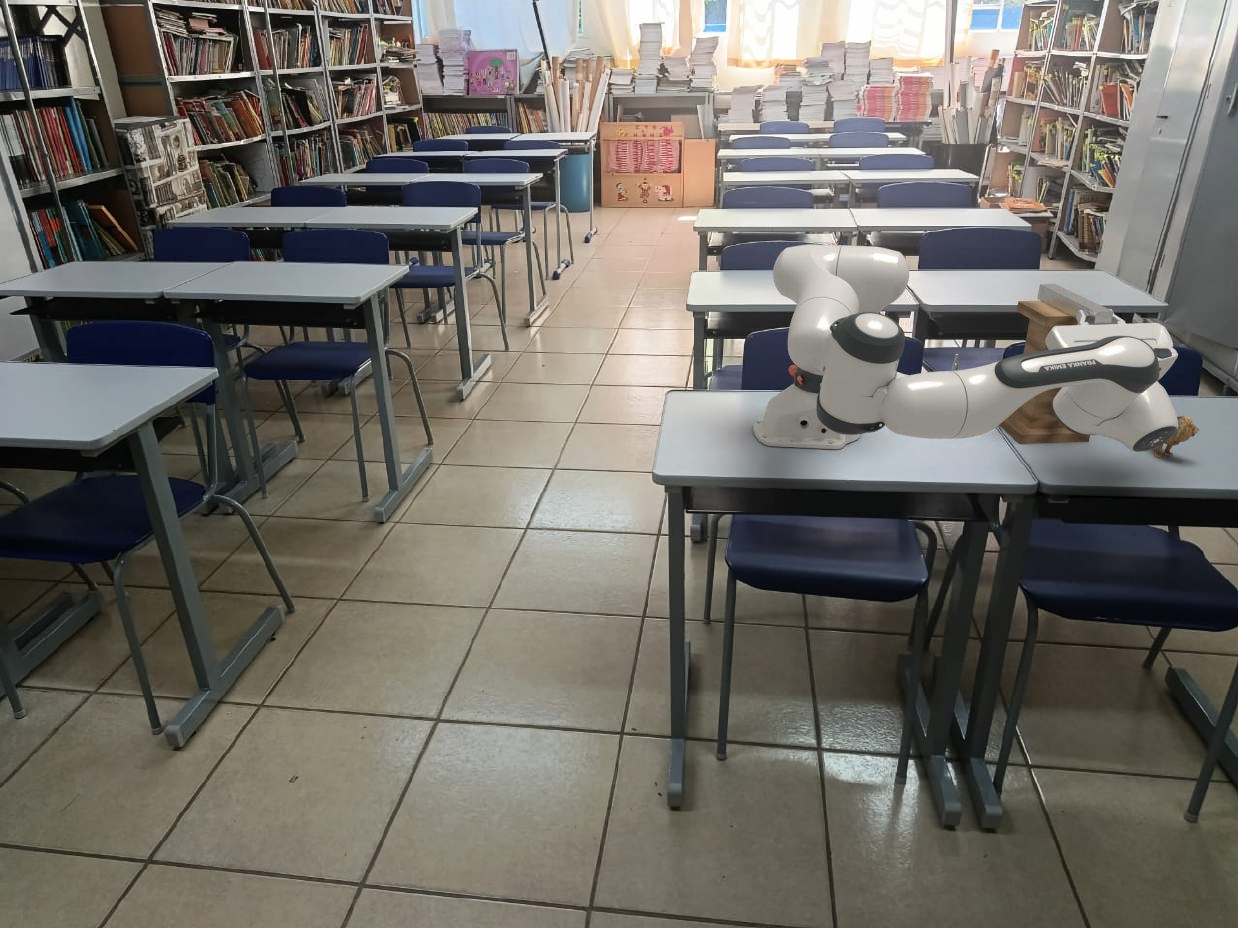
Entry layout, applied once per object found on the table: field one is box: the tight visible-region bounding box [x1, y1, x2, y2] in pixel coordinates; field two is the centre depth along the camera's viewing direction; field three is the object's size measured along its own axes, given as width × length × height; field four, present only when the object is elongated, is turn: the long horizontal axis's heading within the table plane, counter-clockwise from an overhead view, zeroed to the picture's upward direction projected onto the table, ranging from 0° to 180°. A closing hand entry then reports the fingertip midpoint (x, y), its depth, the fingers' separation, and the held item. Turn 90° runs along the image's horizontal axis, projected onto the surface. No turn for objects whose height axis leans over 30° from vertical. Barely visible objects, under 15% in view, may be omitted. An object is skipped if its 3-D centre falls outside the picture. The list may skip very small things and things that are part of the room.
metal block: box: [1037, 283, 1114, 325], centre depth 159 cm, size 3×22×3 cm, turn 0°
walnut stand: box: [998, 300, 1091, 445], centre depth 169 cm, size 14×14×26 cm
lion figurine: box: [1153, 415, 1200, 459], centre depth 162 cm, size 15×5×9 cm, turn 10°
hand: (1093, 312), depth 152 cm, fingers closed on metal block, 3 cm apart
